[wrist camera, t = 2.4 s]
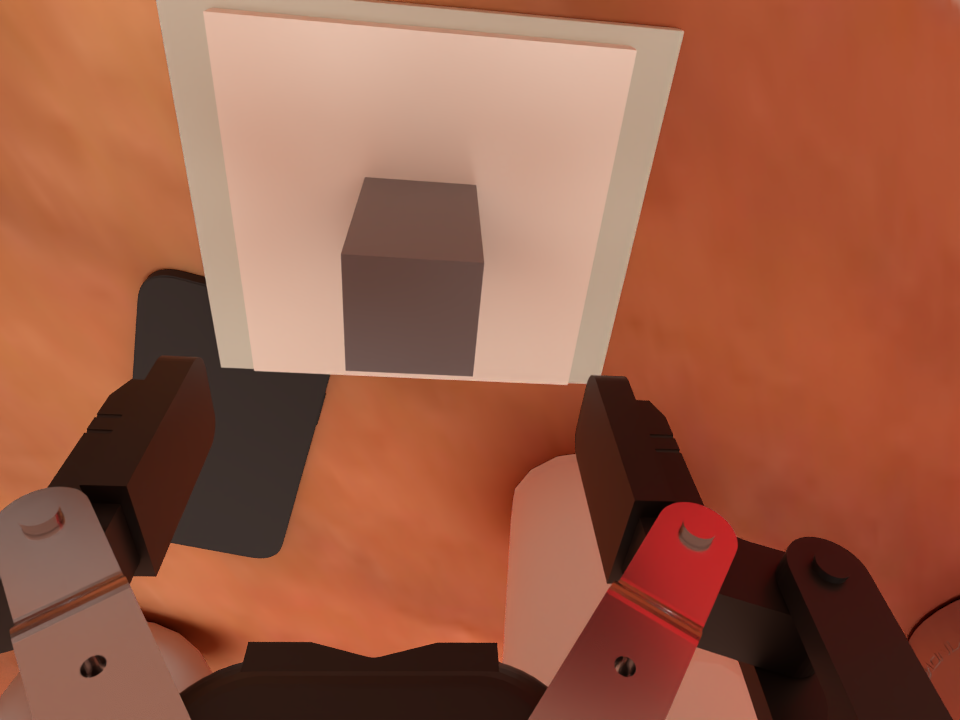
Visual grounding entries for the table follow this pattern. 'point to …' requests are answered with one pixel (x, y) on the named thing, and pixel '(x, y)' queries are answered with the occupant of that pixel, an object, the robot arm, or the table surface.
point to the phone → (232, 424)
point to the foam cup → (584, 594)
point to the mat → (191, 61)
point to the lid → (414, 192)
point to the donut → (184, 661)
